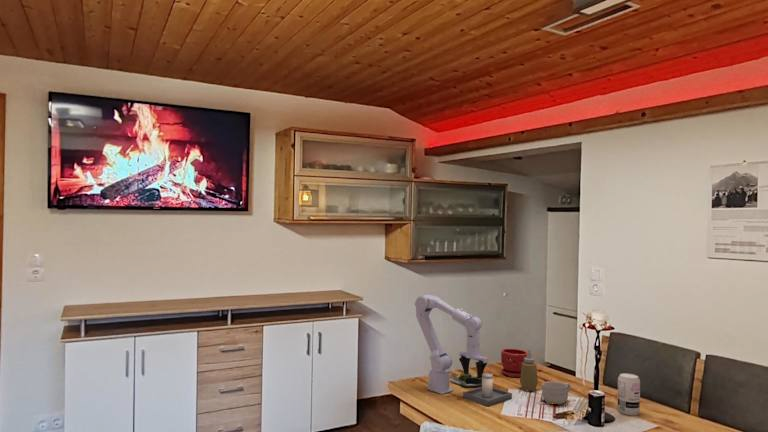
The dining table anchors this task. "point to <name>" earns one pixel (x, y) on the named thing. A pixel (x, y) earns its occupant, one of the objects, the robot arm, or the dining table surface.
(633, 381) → the supplement can
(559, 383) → the teacup
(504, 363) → the plant pot
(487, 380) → the salt shaker
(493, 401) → the tray
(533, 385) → the squeeze bottle
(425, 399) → the dining table surface
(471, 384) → the salad plate
